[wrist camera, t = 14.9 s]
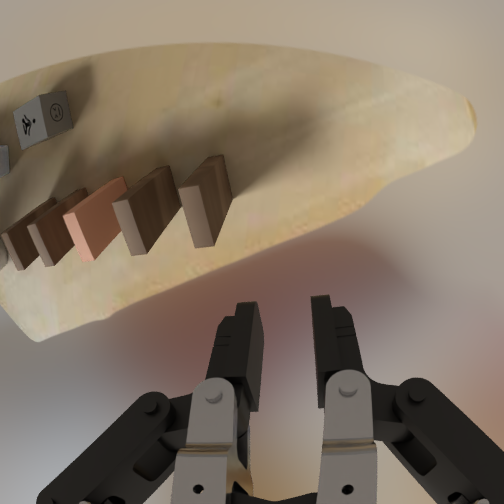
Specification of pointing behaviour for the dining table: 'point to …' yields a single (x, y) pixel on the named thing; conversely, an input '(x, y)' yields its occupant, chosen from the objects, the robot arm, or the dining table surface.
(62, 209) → the domino
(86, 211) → the domino
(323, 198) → the dining table surface
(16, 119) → the dice cube
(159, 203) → the domino
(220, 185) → the domino
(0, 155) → the medicine box
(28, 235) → the domino
